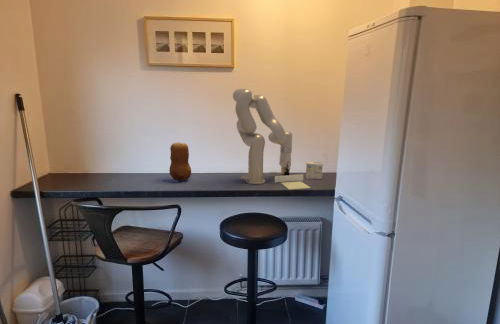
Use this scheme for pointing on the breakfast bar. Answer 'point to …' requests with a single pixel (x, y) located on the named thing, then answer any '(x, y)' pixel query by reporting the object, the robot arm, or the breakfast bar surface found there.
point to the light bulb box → (314, 170)
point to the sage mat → (295, 185)
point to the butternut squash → (179, 162)
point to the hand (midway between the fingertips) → (285, 176)
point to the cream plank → (288, 178)
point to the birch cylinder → (283, 171)
